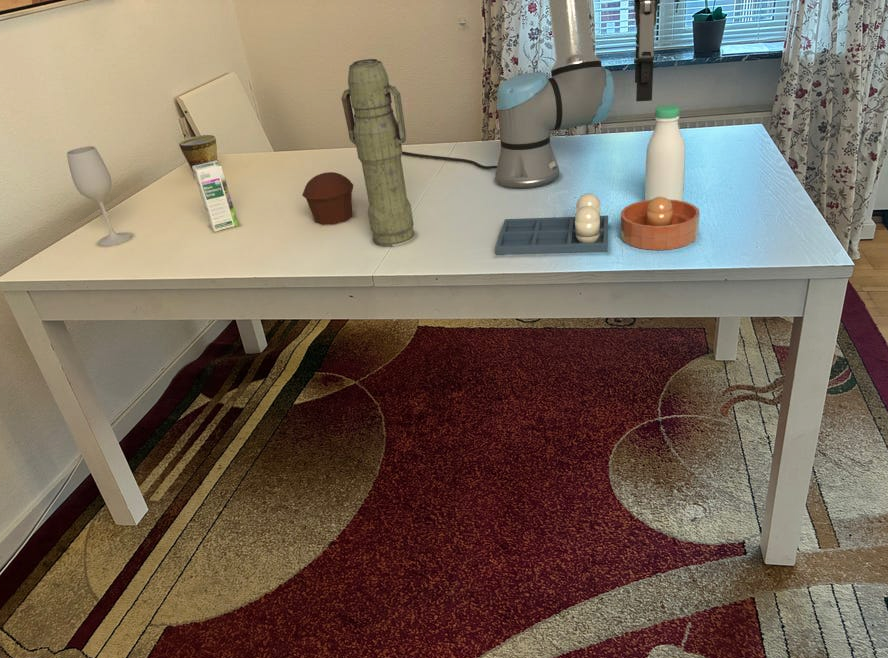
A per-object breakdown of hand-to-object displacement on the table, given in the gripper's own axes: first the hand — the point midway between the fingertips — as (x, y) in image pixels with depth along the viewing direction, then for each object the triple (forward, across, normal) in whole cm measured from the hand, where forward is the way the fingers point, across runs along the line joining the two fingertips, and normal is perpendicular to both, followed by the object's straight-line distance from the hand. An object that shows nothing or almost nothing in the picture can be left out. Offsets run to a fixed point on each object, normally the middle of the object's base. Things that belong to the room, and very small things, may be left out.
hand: (643, 91), depth 137 cm
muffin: (+26, +5, +68) cm, 73 cm away
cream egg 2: (+24, -15, +10) cm, 30 cm away
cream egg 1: (+24, -8, +10) cm, 27 cm away
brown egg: (+24, -11, -4) cm, 27 cm away
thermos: (+25, -8, +50) cm, 57 cm away
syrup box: (+26, +3, +94) cm, 98 cm away
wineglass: (+26, -4, +119) cm, 122 cm away
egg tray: (+25, -11, +17) cm, 32 cm away
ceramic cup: (+27, +43, +120) cm, 131 cm away
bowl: (+24, -11, -3) cm, 27 cm away
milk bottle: (+25, +6, -5) cm, 26 cm away
